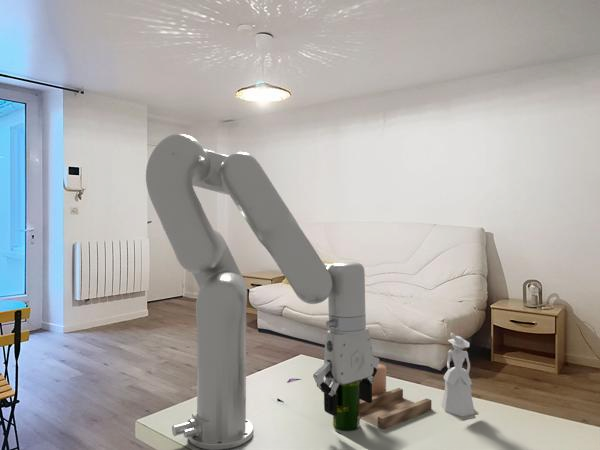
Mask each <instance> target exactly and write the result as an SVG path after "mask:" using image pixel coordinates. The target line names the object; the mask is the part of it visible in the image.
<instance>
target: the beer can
mask: <svg viewBox="0 0 600 450" xmlns="http://www.w3.org/2000/svg"><path fill="white" fill-rule="evenodd" d="M334 394H335V395H337V415H336V416H333V415H332V420H333V421H332V424H333V428H335V429H337V430H339V431H342V432H343V431H345V432H351V431H352V432H353V431H356V430H358V429H359V428H360V426H361V425H360V422H361V420H360V419H361V418H360V380H359V381H356V382H353V383H349V384H346V385H340V384H339V386H338V388H337V390H336V392H335V393H334ZM337 430H335V432H336V433H337V434H339V435H341V433H340V432H338V431H337Z"/></svg>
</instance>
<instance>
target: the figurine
mask: <svg viewBox="0 0 600 450" xmlns="http://www.w3.org/2000/svg"><path fill="white" fill-rule="evenodd" d="M447 342H449V343H450V344H451V346H452V347H453V349H449V350H448V351H447V357H446V358H447V359H446V368H447V371H446V372H445V374H444V375H443V377H442V378H443V380H444V391H443V392H444V393H443V397H442V401H441V404H440V405H441V407H442V409H443V411H444V412H445V413H447V414H453V415H455V416H456V415H457V416H460V417H464V416H465V417H466V416H470V415H472V416H470V417H467V418H466V419H464V420H463V422H464V421H467V420H473V419H476V413H475V408H474V407H475V406H474V402H473V396H472V395H473V393H472V387H471V386H472V384H473V382H472V380H471V378H470V370H471V361H470V358H469V353H468V351H467V350H463V349H465V348H470V342H469V341H467V340H466V339H465V338H463V337H462V336H459V335H456V334H455V333H454V332H450V339H448V340H447ZM451 359H452V362H453V365H454V366H453V367H450V366H451V365H450V363H451ZM465 360H466V363H467V367H466V369H465V368H464V367H463V364H464V362H465ZM474 414H475V415H474Z"/></svg>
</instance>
